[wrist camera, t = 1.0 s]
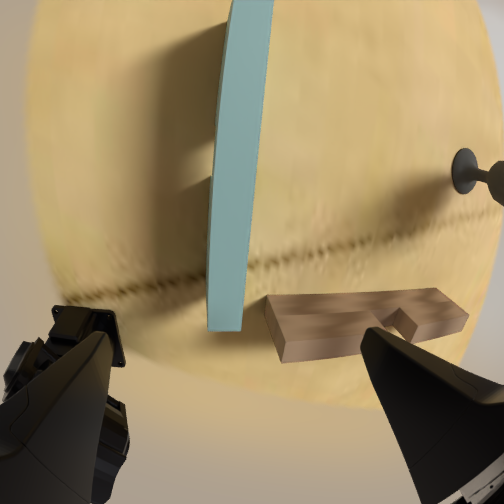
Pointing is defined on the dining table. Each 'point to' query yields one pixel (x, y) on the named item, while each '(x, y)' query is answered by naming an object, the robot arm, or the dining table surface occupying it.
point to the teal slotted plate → (235, 160)
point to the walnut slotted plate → (356, 320)
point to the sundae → (477, 175)
